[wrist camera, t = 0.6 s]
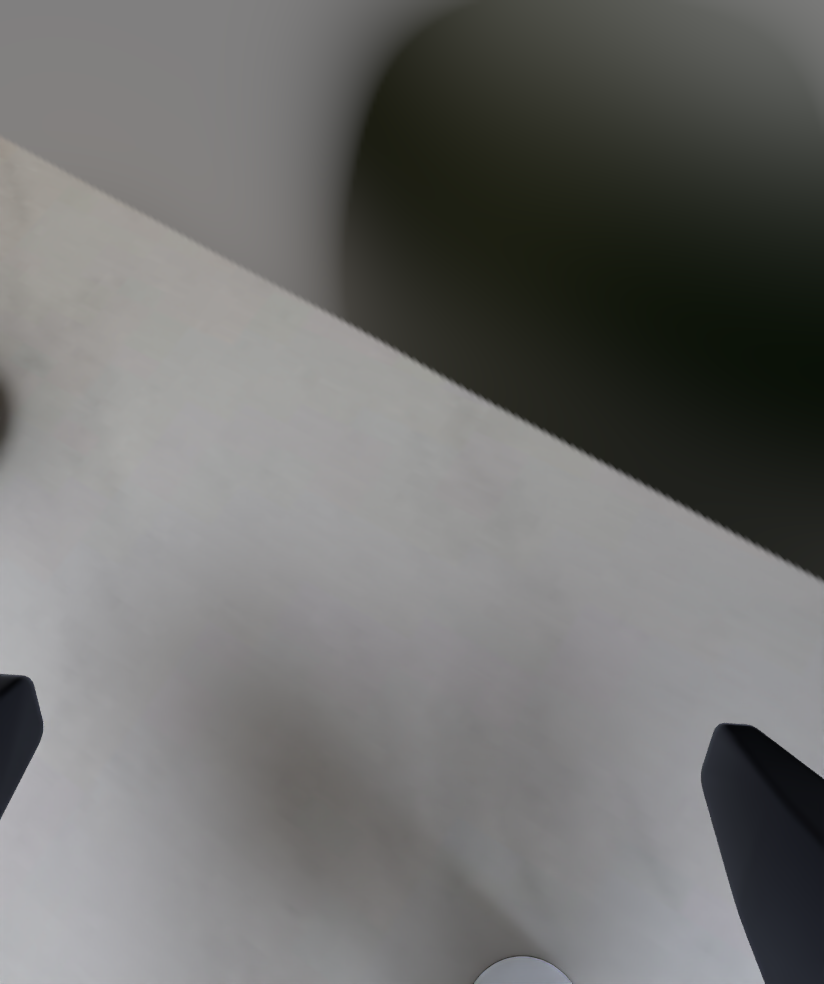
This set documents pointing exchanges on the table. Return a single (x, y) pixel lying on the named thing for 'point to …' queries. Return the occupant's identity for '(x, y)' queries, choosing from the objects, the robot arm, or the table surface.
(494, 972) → the tube
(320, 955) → the table surface
